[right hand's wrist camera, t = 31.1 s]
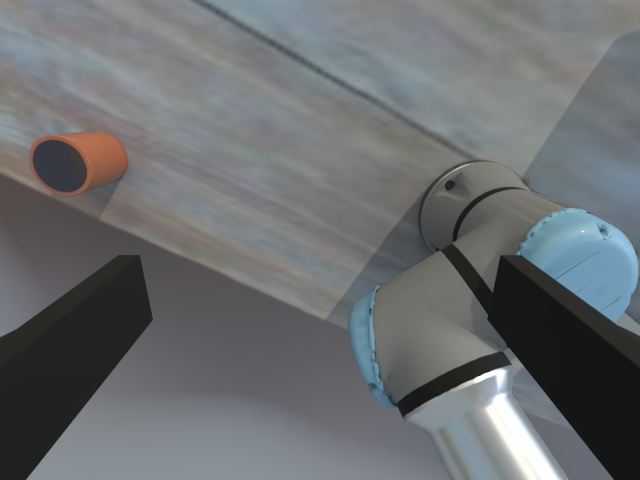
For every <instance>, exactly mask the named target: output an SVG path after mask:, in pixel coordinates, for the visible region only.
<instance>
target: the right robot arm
mask: <svg viewBox="0 0 640 480" xmlns="http://www.w3.org/2000/svg"><path fill="white" fill-rule="evenodd" d="M529 180H530V179H528V178H525V177H523V178H522V177H521V176H520V175H519V174H517V173H516V172H515V171H513V170H512V169H510V168H509V167H507V166H504V165H502V164H499V163H495V162H491V161H483V160H478V161H469V162H465V163H462V164H459V165H457V166H455V167H453V168H451V169H449V170H447V171H446V172H444V173H443V174H442V175H441V176H439V177H438V178H437V179H436V180H435V181H434V183H433V184H432V185H431V186H430V188H429V189H428V191H427V192H426V194H425V196H424V198H423V201H422V203H421V207H420V212H419V226H420V231H421V234H422V236H423V239H424V240H425V242H426V244H427V245H428V246H429V248H430V249H431V250H432V251H433V252H434V254H432V255H431V256H429V257H428V258H426V259H424V260H423V261H421V262H419V263H417V264H416V265H414V266H412V267H411V268H409V269H407V270H405V271H404V272H402V273H400V274H399V275H397V276H395V277H393V278H392V279H390V280H388V281H387V282H385V283H383V284H379V285H377V286H376V287H375V288H374V290H373V291H371V292H370V293H368V294H367V295H365V296H364V297H362V298H361V299H359V300H358V301H357V302H356V303H355V304H354V305H353V306H352V308H351V311H350V314H349V320H348V330H349V337H350V342H351V346H352V350H353V354H354V357H355V360H356V363H357V365H358V368H359V371H360V373H361V375H362V377H363V379H364V381H365V382H366V383H368V385H369V388H370V392H371V393H372V395H373V396H374V398H375V399H376V400H377V401H378V402H379V403H380V404H381V405H382V406H384V407H392V408H396V407H398V408H399V410H400V413H401V415H402V417H403V419H404V421H405V422H406V423H408V424H410V425H412V426H414V427H417V428H419V429H421V430H423V431H424V432H425V433H427V434H428V435H429V437H430V439H431V441H432V443H433V445H434V447H435V449H436V451H437V453H438V455H439V457H440V459H441V461H442V463H443V465H444V467H445V469H446V471H447V473H448V475H449V477H450V479H451V480H569V479H568V478H567V476H566V475H565V473H564V472H563V470H562V469H561V467H560V466H559V464H558V463H557V461H556V460H555V458H554V457H553V455H552V454H551V452H550V451H549V449H548V448H547V446H546V445H545V443H544V442H543V440H542V439H541V437H540V436H539V434H538V433H537V431H536V430H535V428H534V427H533V425H532V424H531V422H530V421H529V419H528V418H527V416H526V415H525V413H524V412H523V410H522V409H521V407H520V406H519V404H518V403H517V401H516V400H515V398H514V397H513V394H512V384H513V377H514V371H515V368H514V367H513V365H512V364H511V363H510V361H509V360H508V358H507V357H506V355H505V354H504V352H503V350H505V349H507V348H508V347H509V348H510V349H511V350H512V352H513V353H514V354H515V355H516V357H517V358H518V359H519V360H520V362H521V363H522V364H523V366H524V367H525V368H526V369H527V371H528V372H529V373H530V374H531V376H532V377H533V378H534V379H535V381H536V382H537V383H538V384H539V386H540V387H541V388H542V389H543V391H544V392H545V393H546V395H547V396H548V397H549V398H550V400H551V401H552V402H553V403H554V405H555V406H556V407H557V408H558V410H559V411H560V412H561V413H562V415H563V416H564V417H565V418H566V420H567V421H568V422H569V424H570V425H571V426H572V427H573V429H574V430H575V431H576V432H577V434H578V435H579V436H580V437H581V439H582V440H583V441H584V442H585V444H586V445H587V446H588V448H589V449H590V450H591V451H592V453H593V454H594V455H595V456H596V458H597V459H598V460H599V461H600V463H601V464H602V465H603V466H604V468H605V469H606V470H607V471H608V473H609V474H610V475H611V477H612V478H613V479H614V480H640V336H639V335H637V334H635V333H633V332H631V331H629V330H627V329H625V328H623V327H621V326H618V325H617V324H615V322H616V321H617V320H618V319H619V318H620V317H621V316H622V314H623V313H624V311H625V310H626V308H627V307H628V305H629V303H630V298H631V295H632V294H633V292H634V290H635V289H636V285H637V280H638V261H637V256H636V253H635V251H634V248H633V246H632V244H631V243H630V241H629V240H628V238H627V237H626V236H625V235H624V234H623V233H622V232H621V231H620V230H619V229H617V228H616V227H614V226H613V225H611V224H609V223H607V222H605V221H603V220H601V219H599V218H597V217H596V216H594V215H593V214H592V213H590V212H588V211H586V210H583V209H578V208H573V207H570V206H568V205H565V204H563V203H560V202H557V201H555V200H552V199H549V198H547V197H544V196H542V195H539V194H536V193H534V192H531V191H530V189H529V187H528V186H529ZM152 320H153V318H152V313H151V308H150V303H149V298H148V294H147V289H146V284H145V279H144V274H143V269H142V264H141V259H140V255H118V256H117V257H115V258H114V259H113V260H111V261H110V262H109V263H107V264H106V265H104V266H103V267H102V268H100V269H99V270H98V271H96V272H95V273H93V274H92V275H91V276H89V277H88V278H86V279H85V280H84V281H82V282H81V283H80V284H78V285H77V286H76V287H74V288H73V289H71V290H70V291H69V292H67V293H66V294H64V295H63V296H62V297H60V298H59V299H58V300H56V301H55V302H53V303H52V304H51V305H49V306H48V307H47V308H45V309H44V310H43V311H41V312H40V313H38V314H37V315H36V316H34V317H33V318H32V319H30V320H29V321H27V322H26V323H25V324H23V325H22V326H21V327H19V328H18V329H16V330H14V331H12V332H10V333H8V334H6V335H4V336H2V337H0V480H26V479H27V478H28V476H29V475H30V474H31V473H32V471H33V470H34V469H35V468H36V466H37V465H38V464H39V463H40V461H41V460H42V459H43V458H44V456H45V455H46V454H47V453H48V451H49V450H50V449H51V448H52V446H53V445H54V444H55V442H56V441H57V440H58V439H59V437H60V436H61V435H62V434H63V432H64V431H65V430H66V429H67V427H68V426H69V425H70V424H71V422H72V421H73V420H74V418H75V417H76V416H77V415H78V413H79V412H80V411H81V410H82V408H83V407H84V406H85V405H86V403H87V402H88V401H89V400H90V398H91V397H92V396H93V394H94V393H95V392H96V391H97V389H98V388H99V387H100V386H101V384H102V383H103V382H104V381H105V379H106V378H107V377H108V376H109V374H110V373H111V372H112V371H113V369H114V368H115V367H116V365H117V364H118V363H119V362H120V360H121V359H122V358H123V357H124V355H125V354H126V353H127V352H128V350H129V349H130V348H131V347H132V345H133V344H134V343H135V341H136V340H137V339H138V338H139V336H140V335H141V334H142V333H143V331H144V330H145V329H146V328H147V326H148V325H149V324H150V323H151V321H152Z"/></svg>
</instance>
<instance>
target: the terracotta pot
mask: <svg viewBox="0 0 640 480" xmlns="http://www.w3.org/2000/svg"><path fill="white" fill-rule="evenodd" d="M29 163H30V167H31V170H32V172H33V174H34V175H35V177H36V178H37V180H38V181H39V182H40V183H41V184H42V185H43V186H44V187H45V188H47V189H48V190H50V191H52V192H54V193H56V194H59V195H64V196H74V195H78V194H80V193H83V192H86V191H89V190H92V189H95V188H97V187H100V186H103V185H106V184H109V183H111V182H114V181H117V180H118V179H120V178H121V177H122V176H123V175H124V173H125V171H126V168H127V157H126V153H125V151H124V149H123V147H122V146H121V144H120V143H119V142H118V141H117V140H116V139H115V138H114V137H113V136H111V135H109V134H107V133H105V132H102V131H85V132H75V133H65V134H54V135H46V136H43V137H41V138H39V139H38V140H36V141H35V142H34V144H33V145H32V147H31V149H30V153H29Z"/></svg>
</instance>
